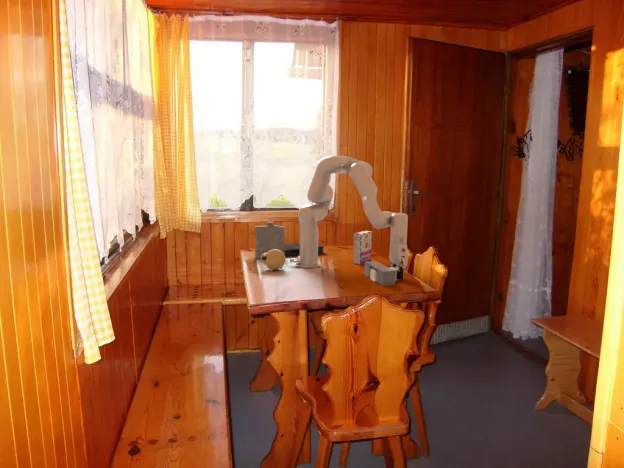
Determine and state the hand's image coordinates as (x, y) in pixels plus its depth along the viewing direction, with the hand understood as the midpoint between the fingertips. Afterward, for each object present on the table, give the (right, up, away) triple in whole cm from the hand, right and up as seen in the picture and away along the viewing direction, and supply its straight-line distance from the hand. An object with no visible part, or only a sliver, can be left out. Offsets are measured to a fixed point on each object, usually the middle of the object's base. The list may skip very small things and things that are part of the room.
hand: (396, 277), depth 238 cm
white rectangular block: (-5, -1, -2) cm, 6 cm away
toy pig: (-59, +2, +12) cm, 60 cm away
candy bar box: (-13, +5, +32) cm, 35 cm away
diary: (-47, +9, +54) cm, 72 cm away
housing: (-9, -1, -3) cm, 9 cm away
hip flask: (-63, +7, +39) cm, 74 cm away
